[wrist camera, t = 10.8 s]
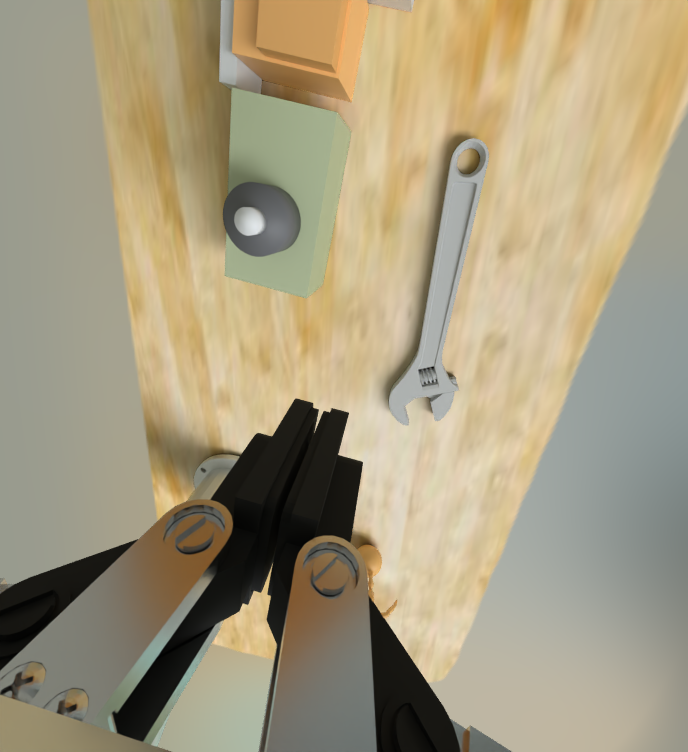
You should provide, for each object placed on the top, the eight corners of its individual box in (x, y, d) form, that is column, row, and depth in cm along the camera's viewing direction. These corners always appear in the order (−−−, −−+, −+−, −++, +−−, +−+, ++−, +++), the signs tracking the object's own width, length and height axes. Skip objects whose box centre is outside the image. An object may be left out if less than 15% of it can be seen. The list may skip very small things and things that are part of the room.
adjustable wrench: (452, 140, 24) (455, 134, 23) (539, 152, 24) (548, 148, 22) (385, 410, 36) (384, 419, 35) (442, 423, 36) (444, 433, 34)
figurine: (340, 551, 48) (321, 646, 38) (341, 524, 45) (320, 618, 35) (396, 561, 47) (392, 662, 36) (400, 534, 44) (397, 635, 34)
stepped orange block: (351, 102, 24) (334, 69, 19) (263, 80, 25) (220, 42, 19) (369, 9, 22) (354, -60, 16) (271, -13, 22) (224, -89, 17)
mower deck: (348, 291, 30) (324, 322, 22) (236, 261, 31) (171, 280, 23) (417, -14, 21) (421, -170, 12) (253, -49, 21) (151, -219, 13)
